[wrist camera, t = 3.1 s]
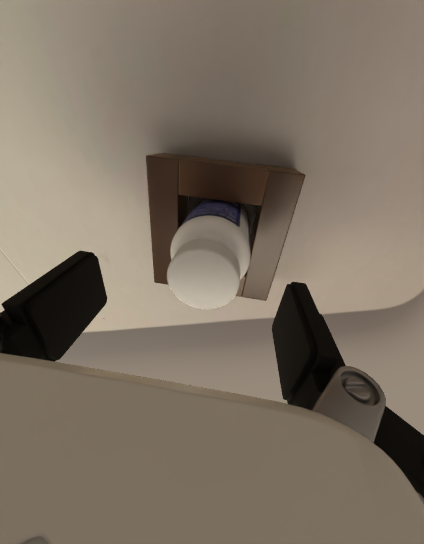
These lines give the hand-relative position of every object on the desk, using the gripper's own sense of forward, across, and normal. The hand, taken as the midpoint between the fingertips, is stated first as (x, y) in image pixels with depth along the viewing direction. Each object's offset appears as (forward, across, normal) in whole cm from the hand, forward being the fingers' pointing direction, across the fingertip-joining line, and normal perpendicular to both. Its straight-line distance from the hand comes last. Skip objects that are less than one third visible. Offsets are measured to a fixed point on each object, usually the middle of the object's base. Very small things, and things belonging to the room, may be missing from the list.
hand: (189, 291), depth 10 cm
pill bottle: (+10, -1, 0) cm, 10 cm away
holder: (+10, -1, 0) cm, 10 cm away
